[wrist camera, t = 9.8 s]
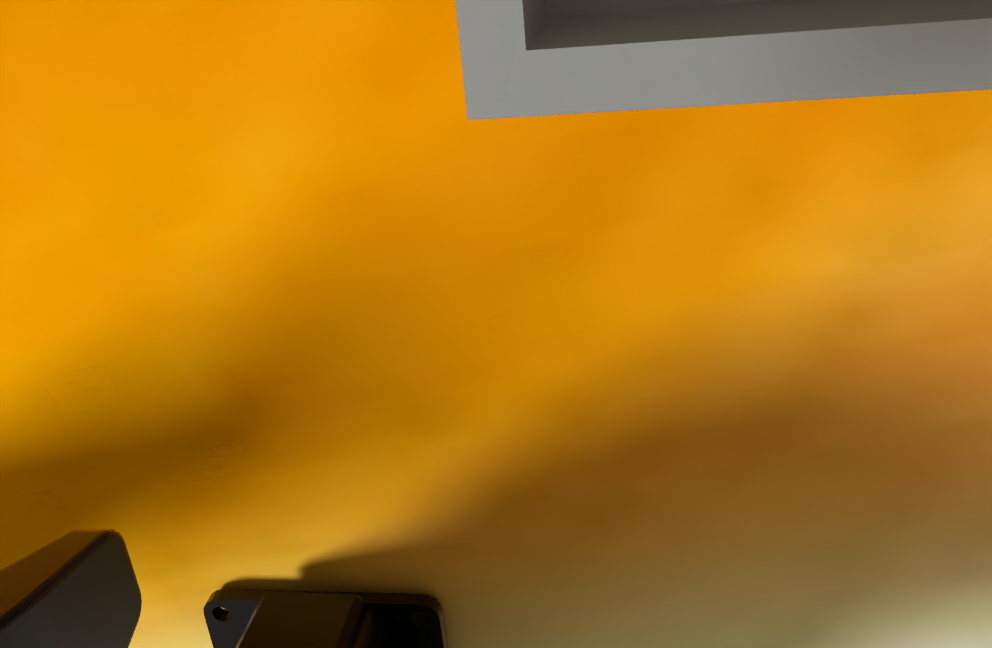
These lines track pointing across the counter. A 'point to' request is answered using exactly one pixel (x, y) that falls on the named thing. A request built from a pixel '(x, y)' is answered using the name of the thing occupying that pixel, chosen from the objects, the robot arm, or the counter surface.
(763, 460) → the counter surface
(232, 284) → the counter surface
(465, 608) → the counter surface
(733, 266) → the counter surface
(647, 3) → the big crate
